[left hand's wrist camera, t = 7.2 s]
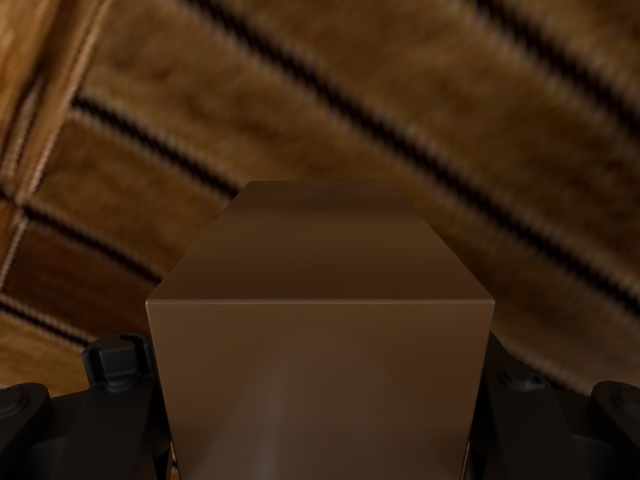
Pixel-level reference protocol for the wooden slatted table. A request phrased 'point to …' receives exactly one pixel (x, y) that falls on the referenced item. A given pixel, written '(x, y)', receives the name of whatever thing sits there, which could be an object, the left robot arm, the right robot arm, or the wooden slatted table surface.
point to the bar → (320, 340)
